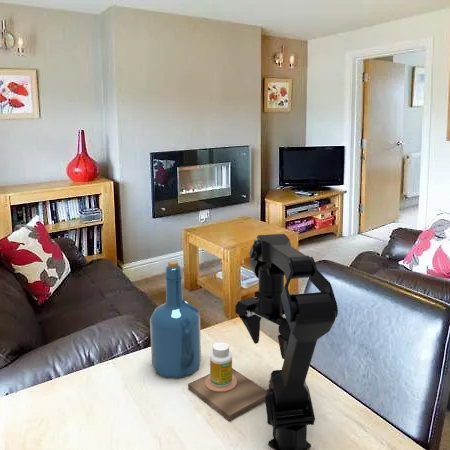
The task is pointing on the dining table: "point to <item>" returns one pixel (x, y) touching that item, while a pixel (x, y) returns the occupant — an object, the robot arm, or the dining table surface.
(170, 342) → the wine bottle
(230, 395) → the walnut board
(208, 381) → the coaster
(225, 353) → the supplement bottle
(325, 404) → the dining table surface
